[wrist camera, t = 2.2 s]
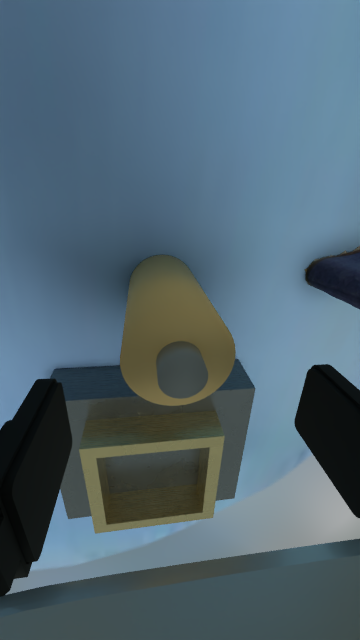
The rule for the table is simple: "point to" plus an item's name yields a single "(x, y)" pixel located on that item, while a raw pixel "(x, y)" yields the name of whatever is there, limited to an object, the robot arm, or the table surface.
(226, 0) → the table surface
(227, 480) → the grey square socket base
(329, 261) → the wallet
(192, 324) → the cylinder
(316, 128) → the table surface
